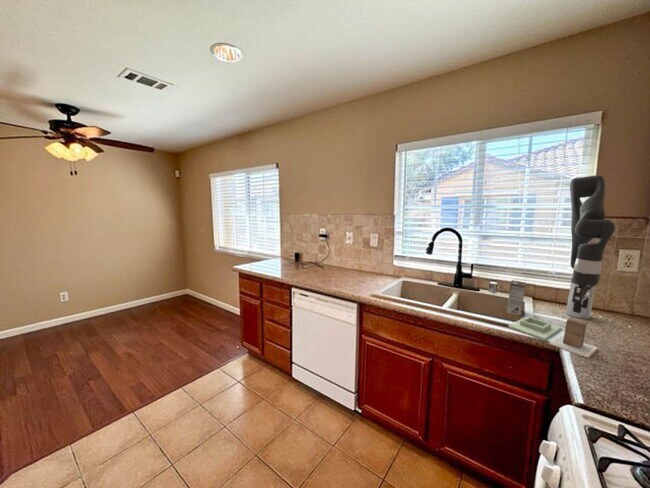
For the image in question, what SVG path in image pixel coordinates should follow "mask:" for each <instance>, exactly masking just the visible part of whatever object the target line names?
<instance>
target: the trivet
mask: <svg viewBox="0 0 650 488" xmlns="http://www.w3.org/2000/svg"><path fill="white" fill-rule="evenodd" d="M563 339H564V335H563V334H562V335H561V334H559V335H557V336H555V338H553V339H551V340H550V341H549V343H548V344H549V345H550V346H554V347H557V348H559V349H562V350H565V351H567V352H570V353H572V354H575V355H578V356H581V357H583V356H584V357H585V358H586V357H587V359H589V358H591V356H593V354H594V353H595V352H597V350H598V347H597V346H595V345H591V344H589V343H586V342H583V346H582V347H580V348H579V349H578V348H576V347H573V346H570V345H567V344H564V343H563Z"/></svg>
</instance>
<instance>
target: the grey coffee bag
mask: <svg viewBox="0 0 650 488" xmlns="http://www.w3.org/2000/svg"><path fill="white" fill-rule="evenodd" d="M509 285H510V286H509V294H508V300H507V307H506V308H507V309H506V313H508V314H512V315H516V316H522V312H523V305H524V298H525V293H526V282H523V281H521V280H520V281H519V280H513V279H511V282H510V284H509Z"/></svg>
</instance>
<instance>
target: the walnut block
mask: <svg viewBox="0 0 650 488" xmlns="http://www.w3.org/2000/svg"><path fill="white" fill-rule="evenodd" d="M587 325H588V322H587V321H586V320H585V321H584V320H580V319H579V318H575V317H569V318H568V319H567V320H566V323H565V329H564V333H563V336H564V339H563V343H564V344H567V345H570V346H573V347H576V348H578V349H579V348H580V347H582V346H583V343H585V342H584V341H585V337H586V330H587V327H588V326H587Z"/></svg>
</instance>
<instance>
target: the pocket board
mask: <svg viewBox="0 0 650 488" xmlns="http://www.w3.org/2000/svg"><path fill="white" fill-rule="evenodd" d="M514 323H516V324H514ZM507 328H508V329H512V330H515V331H517V332H520V333H522V334H525V335H529V336H530V337H534V338H537V339H539V340H543V341H546V340H548V339H549V338H551V337H552V336H554V335H555V334H556V333H558V332H559V331H561V330H562V329H563V328H562V326H559V325H557V324H554V323H550V322H546V321H544V320H540V319H537V318H534V317H531V316H528V315H526V316H523V317H522V318H519V320H515V321H514V322H512V323H510V324H508V326H507Z"/></svg>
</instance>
